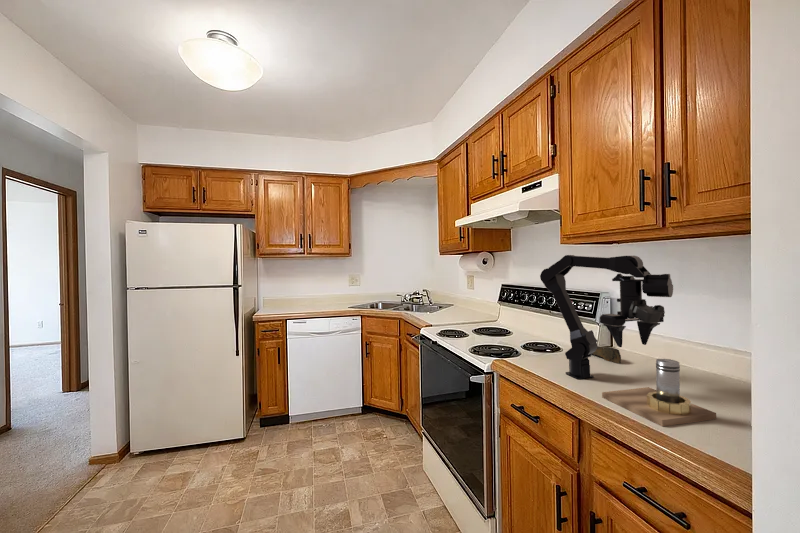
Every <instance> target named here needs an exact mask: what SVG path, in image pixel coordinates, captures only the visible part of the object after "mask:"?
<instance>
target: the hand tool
mask: <svg viewBox="0 0 800 533" xmlns="http://www.w3.org/2000/svg"><path fill="white" fill-rule="evenodd" d="M592 355H594V356H596V357H600V358H602V359H603V360H604V361H606V362H610V363H614V364H621V363H622V355H621V352H620V350H619V349H618V348H615V347H612V346H611V347H610V346H599V345H597V349H596V351H595V352H593V353H592Z"/></svg>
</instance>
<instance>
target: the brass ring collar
mask: <svg viewBox="0 0 800 533" xmlns="http://www.w3.org/2000/svg"><path fill="white" fill-rule="evenodd" d="M691 404H692V401H691V400H690V399H689V398H688V397H685V396H682V395H680V403H669V402H664V401H660V400H658V399H657V392H650V393H648V394H647V405H648V406H649V407H650V408H652V409H654V410H657V411H659V412H663V413H667V414H674V415H686V414H690V412H691Z"/></svg>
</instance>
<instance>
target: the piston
mask: <svg viewBox="0 0 800 533" xmlns="http://www.w3.org/2000/svg"><path fill="white" fill-rule="evenodd" d="M655 360H656V361H655V368H656V369H655V372H656V376H655V377H656V378H655V379H656V381H655V382H656V384H655V385H656V386H655V388H656V389H655V390H657V399H658V400H660V401H664V402H669V403H680V396H681V392H680V388H681V387H680V385H681V384H680V381H681V380H680V378H681V376H680V373H681V372H680V370H681V368H680V367H681V364H680V362H679V361H678V360H675V359H670V358H656V359H655Z"/></svg>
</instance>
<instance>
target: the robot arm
mask: <svg viewBox="0 0 800 533" xmlns="http://www.w3.org/2000/svg"><path fill="white" fill-rule="evenodd" d="M574 267H577V268H579V267H580V268H591V269H604V270H609V271H612V272H615V273H617V274H616V276H614V277H613V278H611V281H612V282H619V298H616V301H617V303H619V304H620V305H619V306H620V311H617V313H616V314H615V313H604V314H603V313H602V314H601V315H600V316H599V324H603V326H604V327H606V329H607V330H608V331H609V333H610V334H611V337H612V338H613V340H614V342H615V343H616V345H617V347H618V348H622V347H623V334H624V332H623V331H624V329H625V328H626V327H627V326H626V325H625V324H626V322H636V324H637V328H638V333H639V337H640V341H641V344H642V345H644V346H646V345H647V344H648V341H649V338H650V336H651V333H652V332H653V329H655V327H657V326H660V324H661V323H664V318H665V313H666V311H665V307H664V306H663V305H661V304H659V305H658V304H656V305H654V306H652V305H648V304H647V300H646V299H644V298H643V297H642V296H643V295H642V294H646V296H647V297H651V298H652V297H654V298H655V297H658V298H672V297H673V294H674V284H673V281H672V279H671V274H670V273H662V274H652V273H650V272H649V270H648V269H647V268H646V267H645V266H644V262H643V259H641V257H640V256H637V255H621V256H620V255H618V256H612V257H605V256H604V257H601V256H600V257H599V256H584V255H582V256H581V255H574V254H566V255H564V256H563V257H561V259H559V260H558V261H556V262H555V263H553V264H552V265H550V266H549V267H548V268H544V269H543V270H541V272H540V274H539V277H540V281H541V282H542V283H543V285H544V286H545V289H547V290H548V291H549V292H550V293H551V294H552V295H553V298H554V300H555V302H556V304H557V306H558V308H559V309H558V310H560V313H561V314H562V315H561V316H562V318H563V319H564V322H565V324H566V326H567V328H568V331H569V341H570V346H571V347H570V349H568V350H566V351H565V352H564V354H565V355H564V356H565V358H566V360H568V364H569V366H568V368H569V371H566V372H565V374H566V375H568V376H570V377H572V378H574V379H576V380H580V379H581V380H583V379H590V378H591V379H592V378H595V377H594V375H593V374H591V365H590V359H589V358H591V357H592V355H593V354H592V353H593V352H595V351H596V349H597V346H598V343H597V342H599V340H598V339H597V338H596V337H595V336H596V335H595V334H594V331H593V330H588V329H586V328H585V327H584V325H583V323H582V321H581V318H580V317H579V315H578V312H577V310H576V308H575V306H574V304H573V301H572V300H571V298H570V295H569V293H568V291H567V287H566V286H567V285H566V277H565V276H566V275H567V274H568V273H570V271H571V270H572V268H574ZM638 278H639V279H638ZM640 278H642V279H640Z"/></svg>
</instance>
